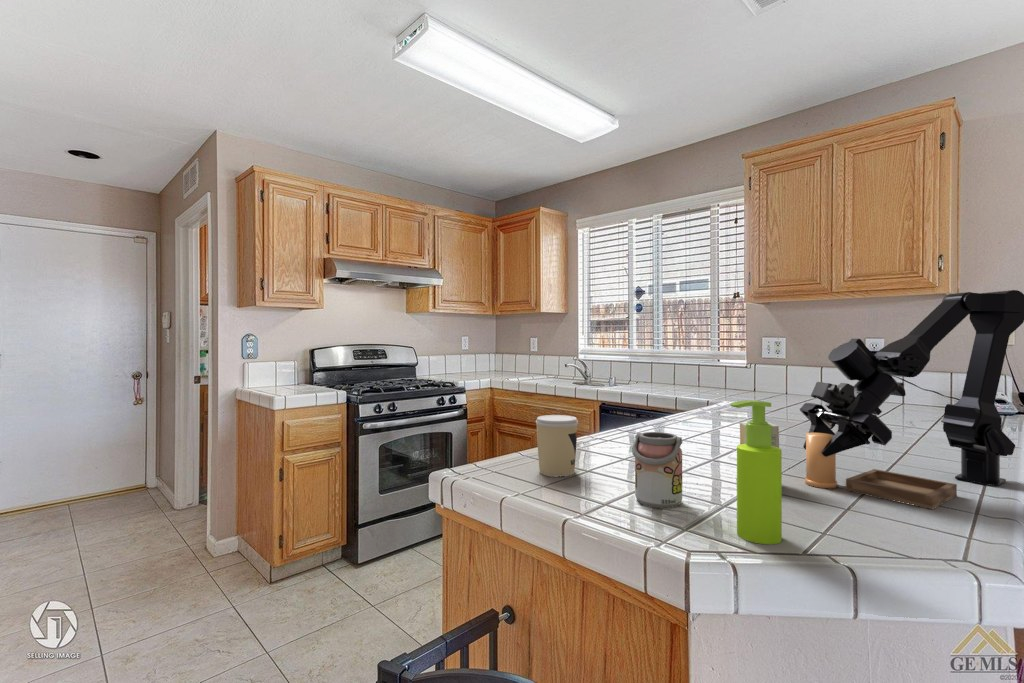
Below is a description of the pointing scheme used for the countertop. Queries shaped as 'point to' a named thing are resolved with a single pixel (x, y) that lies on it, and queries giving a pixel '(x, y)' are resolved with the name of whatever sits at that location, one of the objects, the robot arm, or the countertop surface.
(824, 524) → the countertop surface
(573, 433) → the coffee cup
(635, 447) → the printed pail with handle
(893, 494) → the walnut tray
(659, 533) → the countertop surface
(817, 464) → the peach dome-topped cylinder
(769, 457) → the soap dispenser
